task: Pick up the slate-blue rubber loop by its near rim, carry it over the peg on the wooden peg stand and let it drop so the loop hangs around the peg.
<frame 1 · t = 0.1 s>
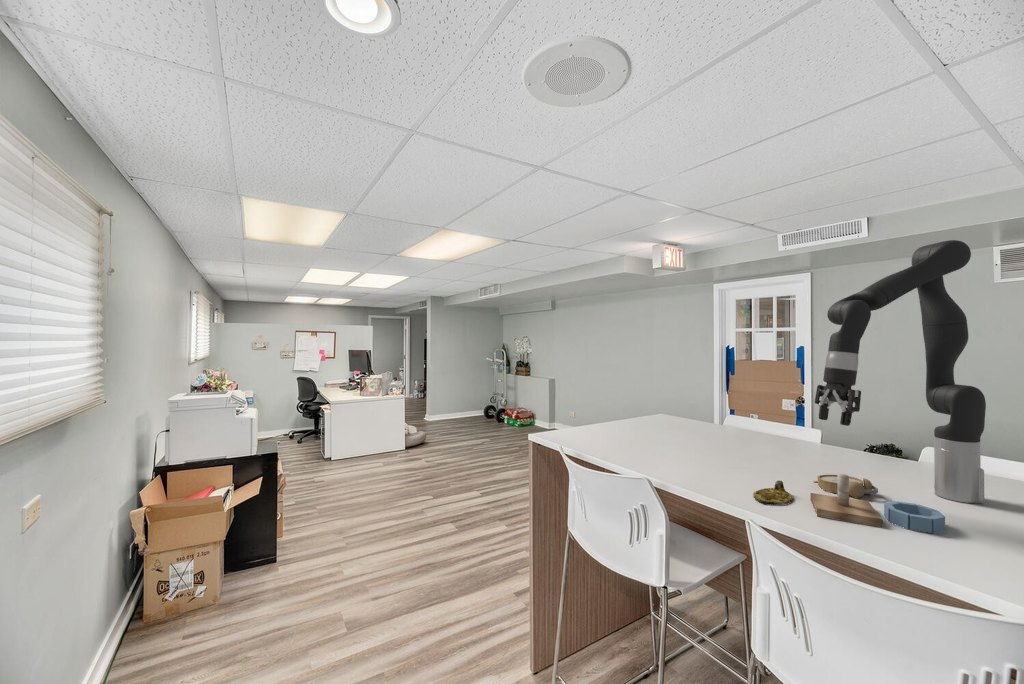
hand: (833, 422, 121), 22 cm above the table, tool pointing down, fingers open, 8 cm apart
rubber loop: (913, 523, 104), on the table
alarm clock: (846, 492, 126), on the table
wooden peg stand: (843, 512, 111), on the table
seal: (772, 499, 121), on the table
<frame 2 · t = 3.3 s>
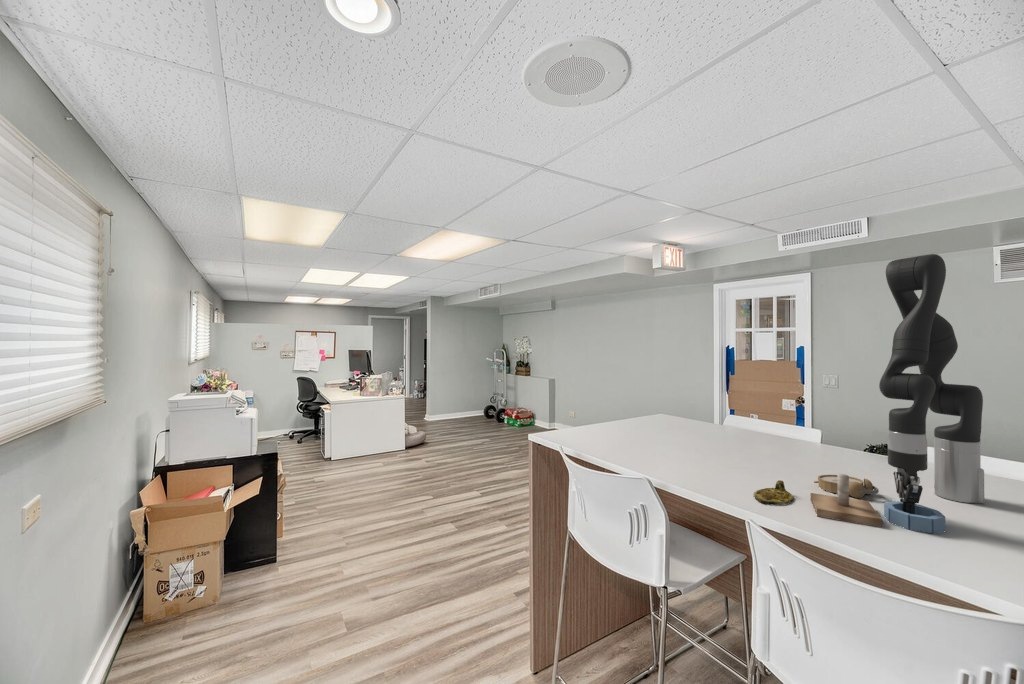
hand: (907, 514, 108), 1 cm above the table, tool pointing down, fingers closed on rubber loop
rubber loop: (913, 523, 104), on the table, touching gripper
everything else where it was.
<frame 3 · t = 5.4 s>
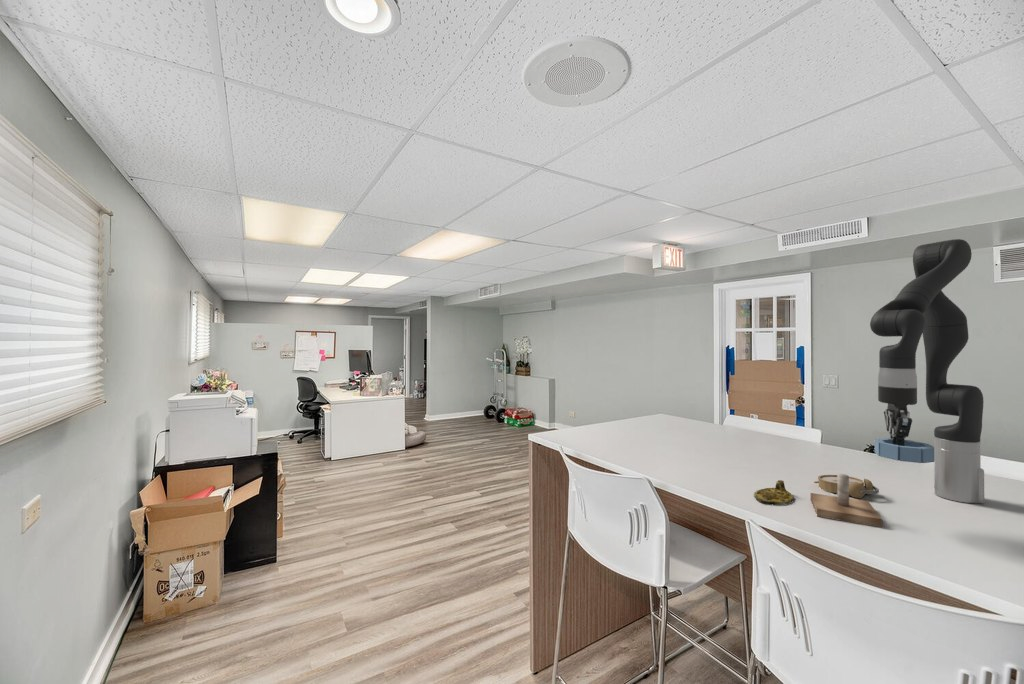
hand: (897, 450, 109), 17 cm above the table, tool pointing down, fingers closed on rubber loop
rubber loop: (903, 456, 105), point 17 cm above the table, touching gripper
everything else where it was.
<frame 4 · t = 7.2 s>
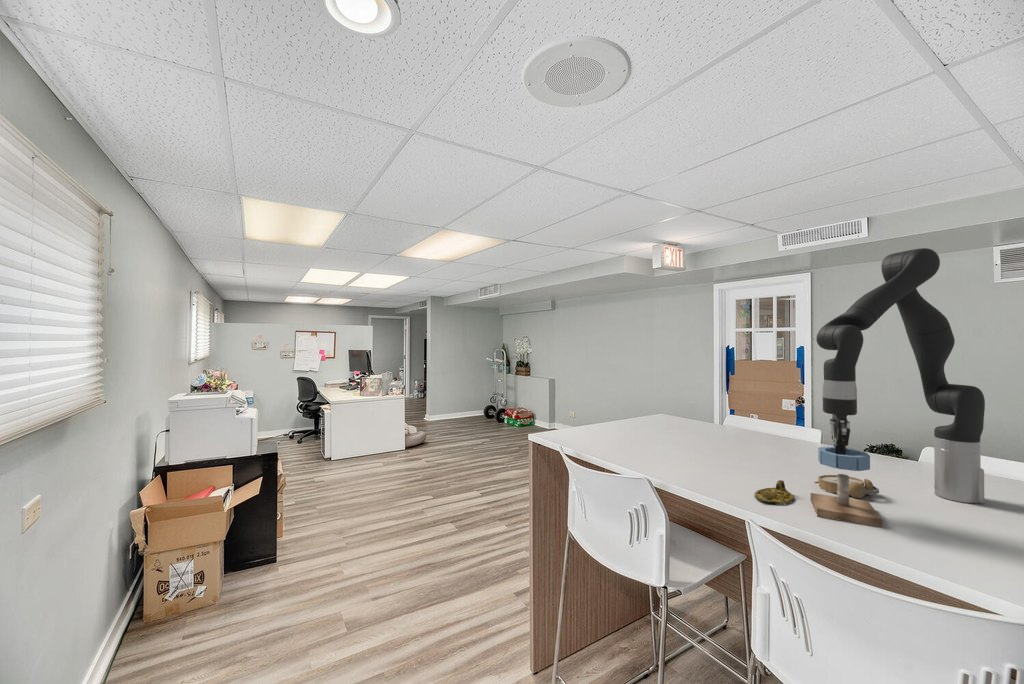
hand: (839, 458, 115), 13 cm above the table, tool pointing down, fingers closed on rubber loop
rubber loop: (843, 464, 111), point 13 cm above the table, touching gripper
everything else where it was.
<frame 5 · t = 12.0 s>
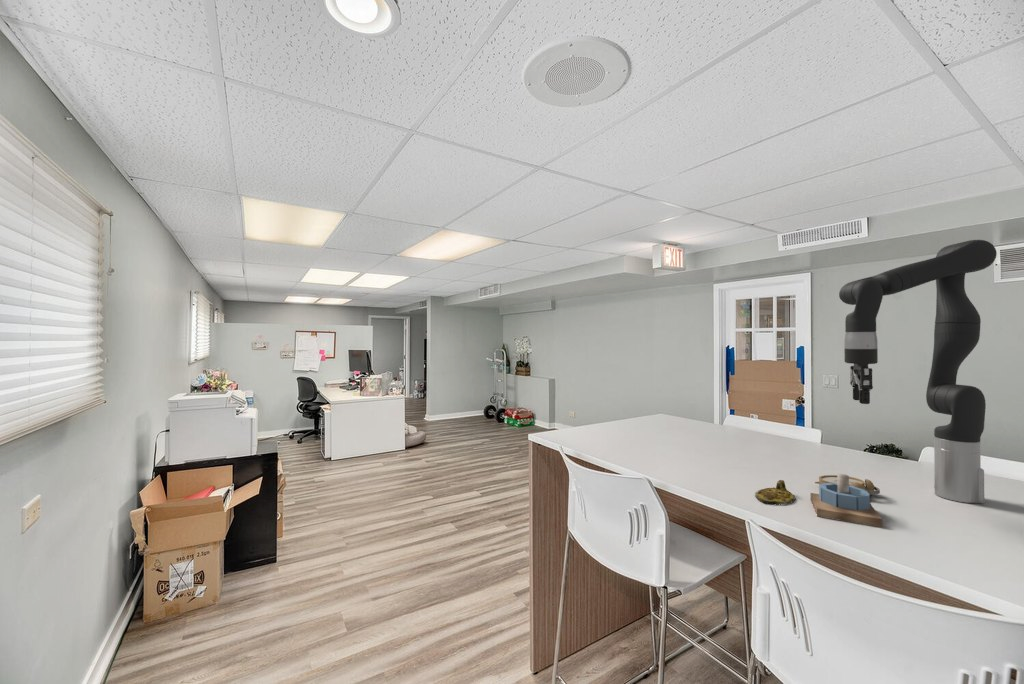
hand: (860, 401, 122), 28 cm above the table, tool pointing down, fingers open, 8 cm apart
rubber loop: (843, 502, 113), point 2 cm above the table, touching wooden peg stand
everything else where it was.
at the end: rubber loop 2.3 cm from the wooden peg stand (horizontally); rubber loop point 2.0 cm above the table; the gripper is holding nothing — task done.
